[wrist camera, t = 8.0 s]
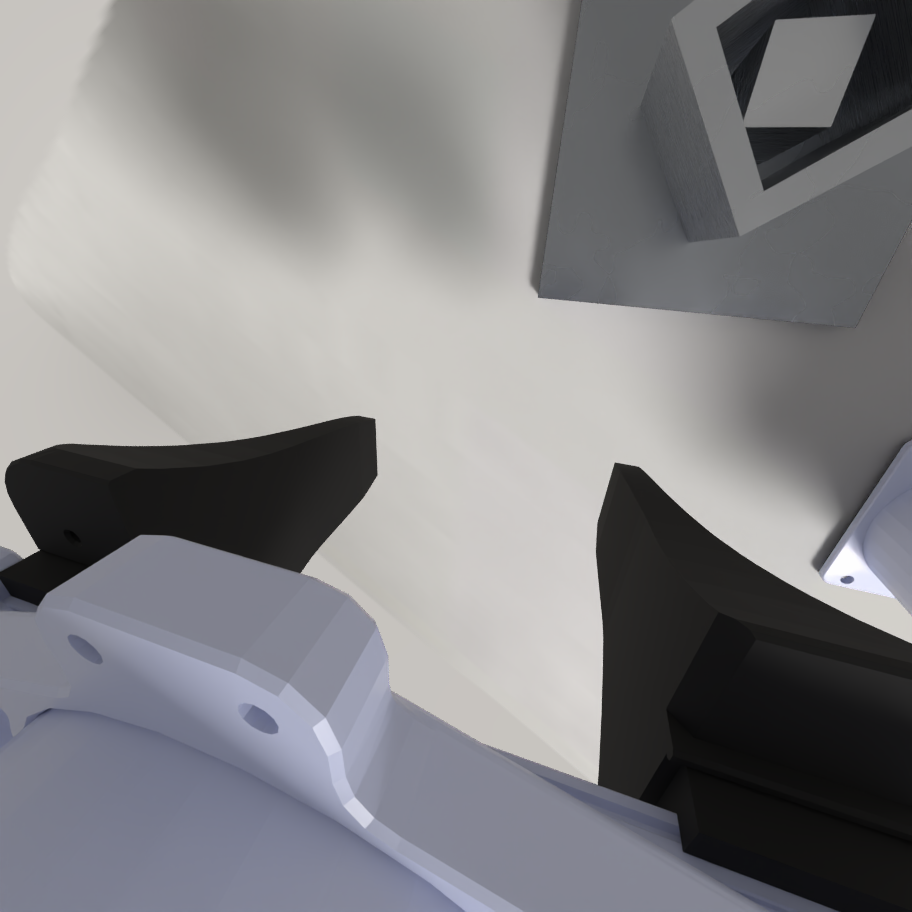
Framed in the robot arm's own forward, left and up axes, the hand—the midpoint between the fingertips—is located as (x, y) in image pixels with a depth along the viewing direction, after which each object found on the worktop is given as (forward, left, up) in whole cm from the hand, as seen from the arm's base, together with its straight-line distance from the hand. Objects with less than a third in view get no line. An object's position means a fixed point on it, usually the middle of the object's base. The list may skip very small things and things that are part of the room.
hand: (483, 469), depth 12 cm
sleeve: (-6, -10, -9) cm, 15 cm away
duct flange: (-6, -10, -10) cm, 15 cm away
